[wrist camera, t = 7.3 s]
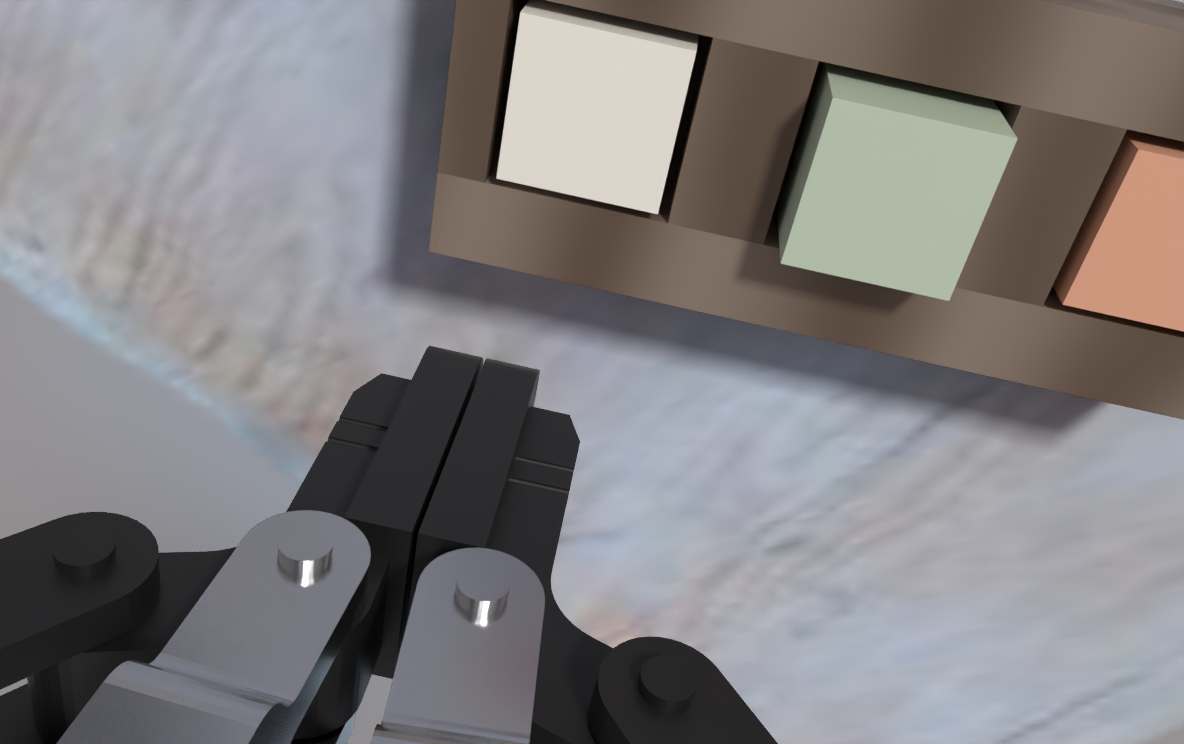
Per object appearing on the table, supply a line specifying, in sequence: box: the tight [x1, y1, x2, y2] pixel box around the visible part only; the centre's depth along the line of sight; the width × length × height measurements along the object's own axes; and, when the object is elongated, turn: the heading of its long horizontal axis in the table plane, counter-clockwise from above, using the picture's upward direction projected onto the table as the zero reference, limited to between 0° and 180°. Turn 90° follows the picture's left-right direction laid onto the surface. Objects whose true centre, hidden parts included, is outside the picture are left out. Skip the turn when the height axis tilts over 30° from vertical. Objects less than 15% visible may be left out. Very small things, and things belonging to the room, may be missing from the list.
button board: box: [429, 0, 1184, 419], centre depth 26 cm, size 21×9×4 cm, turn 80°
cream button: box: [496, 0, 699, 214], centre depth 26 cm, size 4×4×3 cm
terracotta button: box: [1053, 129, 1184, 331], centre depth 26 cm, size 4×4×3 cm
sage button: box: [777, 62, 1018, 301], centre depth 25 cm, size 4×4×3 cm
